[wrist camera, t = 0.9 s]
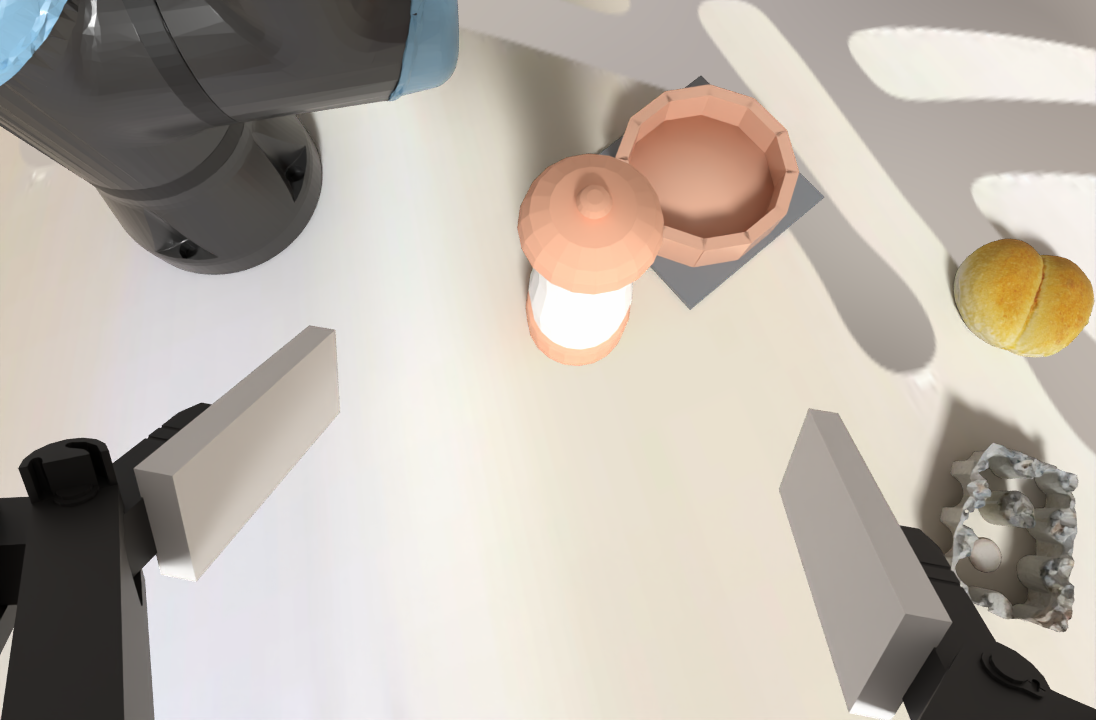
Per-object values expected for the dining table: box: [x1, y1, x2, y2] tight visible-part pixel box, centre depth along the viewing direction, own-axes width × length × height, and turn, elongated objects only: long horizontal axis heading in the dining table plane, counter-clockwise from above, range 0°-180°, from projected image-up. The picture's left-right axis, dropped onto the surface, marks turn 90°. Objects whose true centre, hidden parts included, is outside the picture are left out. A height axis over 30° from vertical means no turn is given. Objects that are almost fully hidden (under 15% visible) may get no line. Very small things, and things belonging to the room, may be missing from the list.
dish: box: [615, 84, 799, 267], centre depth 45 cm, size 13×13×3 cm
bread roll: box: [954, 239, 1094, 357], centre depth 44 cm, size 8×9×4 cm
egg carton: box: [940, 443, 1078, 632], centre depth 40 cm, size 11×8×4 cm
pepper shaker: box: [517, 154, 664, 366], centre depth 36 cm, size 7×7×19 cm
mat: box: [598, 76, 824, 310], centre depth 47 cm, size 14×14×1 cm
